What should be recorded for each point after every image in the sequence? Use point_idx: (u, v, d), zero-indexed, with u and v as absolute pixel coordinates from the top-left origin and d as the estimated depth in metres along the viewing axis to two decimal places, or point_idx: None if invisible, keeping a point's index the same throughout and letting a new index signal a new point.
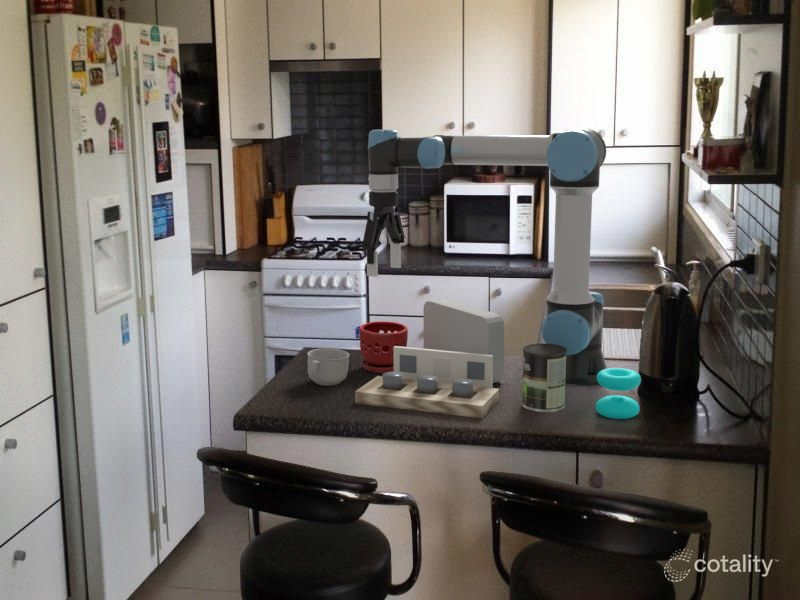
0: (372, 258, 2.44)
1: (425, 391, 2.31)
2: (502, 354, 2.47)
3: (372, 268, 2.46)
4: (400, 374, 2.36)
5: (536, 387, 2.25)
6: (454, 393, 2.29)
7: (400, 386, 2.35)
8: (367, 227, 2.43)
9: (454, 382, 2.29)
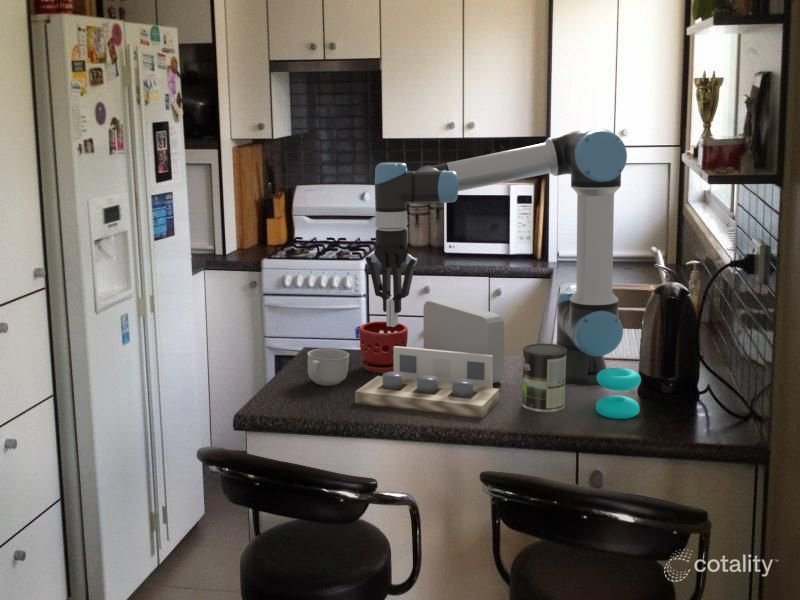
0: (384, 306, 2.33)
1: (425, 391, 2.31)
2: (502, 354, 2.47)
3: None
4: (400, 374, 2.36)
5: (536, 387, 2.25)
6: (454, 393, 2.29)
7: (400, 386, 2.35)
8: None
9: (454, 382, 2.29)
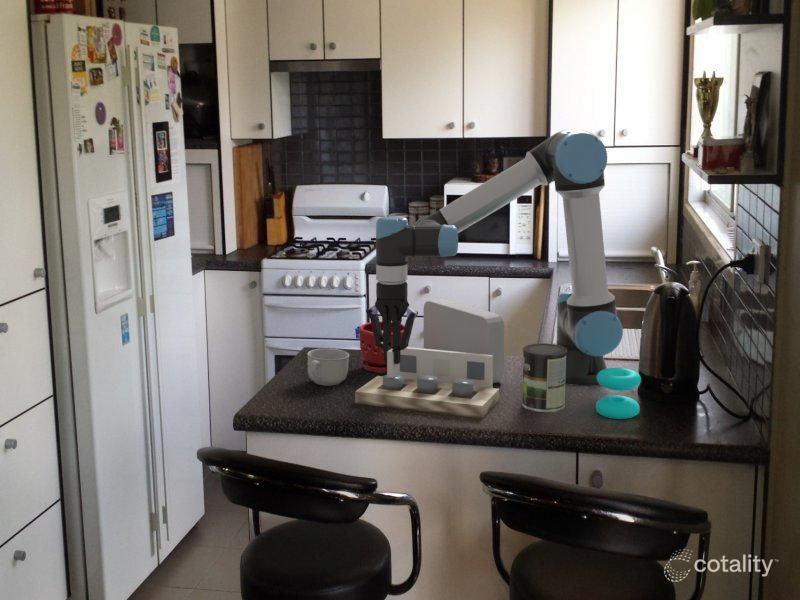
0: (385, 357, 2.35)
1: (425, 391, 2.31)
2: (502, 354, 2.47)
3: None
4: (400, 376, 2.36)
5: (536, 387, 2.25)
6: (454, 393, 2.29)
7: (400, 388, 2.35)
8: None
9: (454, 382, 2.29)
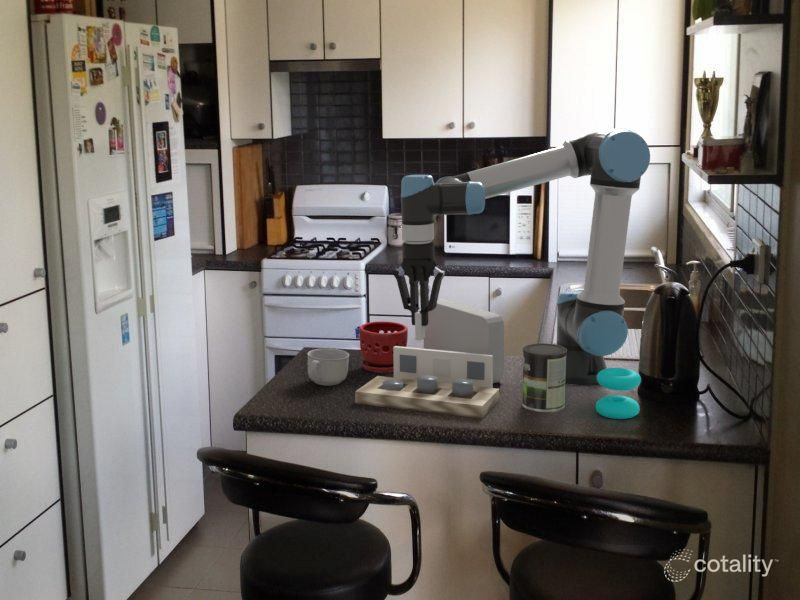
0: (413, 319, 2.31)
1: (425, 391, 2.31)
2: (502, 354, 2.47)
3: None
4: (400, 382, 2.37)
5: (536, 387, 2.25)
6: (454, 393, 2.29)
7: None
8: None
9: (454, 382, 2.29)
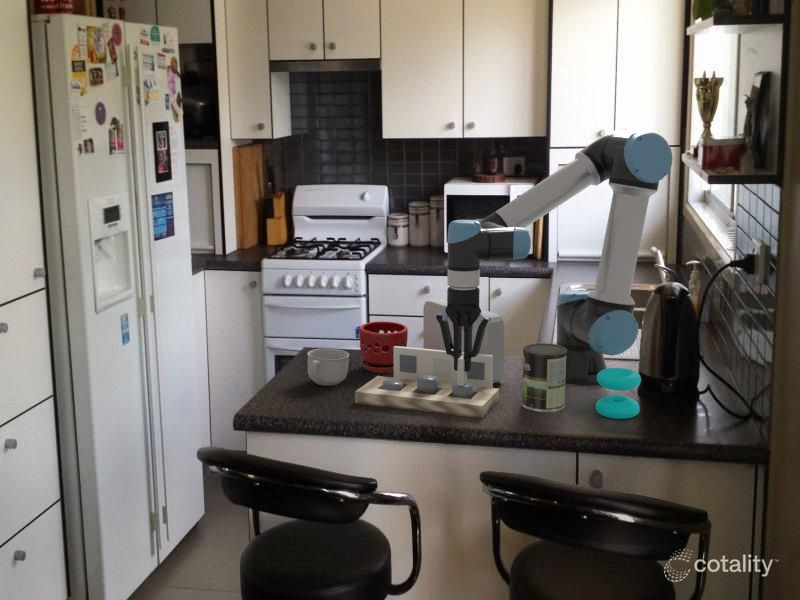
0: (455, 364, 2.29)
1: (425, 391, 2.31)
2: (502, 354, 2.47)
3: None
4: (400, 382, 2.37)
5: (536, 387, 2.25)
6: (454, 396, 2.29)
7: None
8: None
9: (454, 385, 2.29)
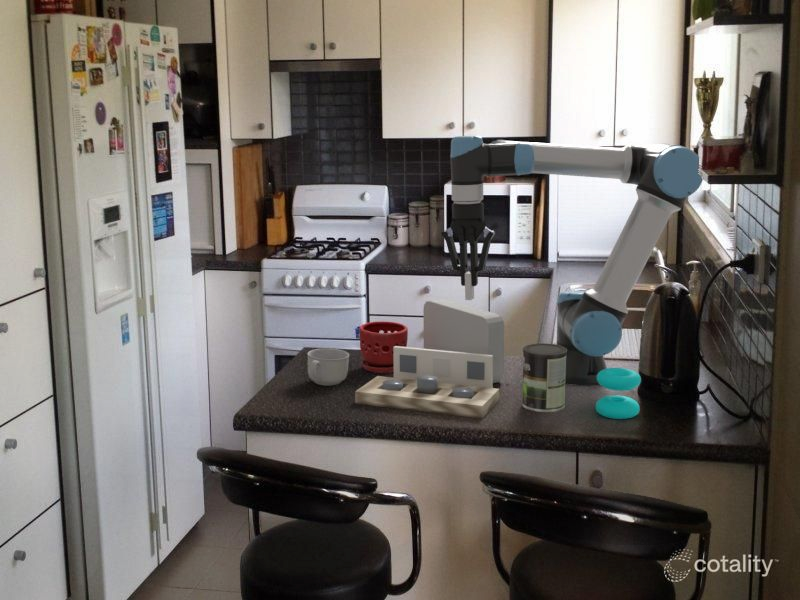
0: (462, 279, 2.33)
1: (425, 391, 2.31)
2: (502, 354, 2.47)
3: None
4: (400, 382, 2.37)
5: (536, 387, 2.25)
6: None
7: None
8: None
9: (454, 390, 2.30)
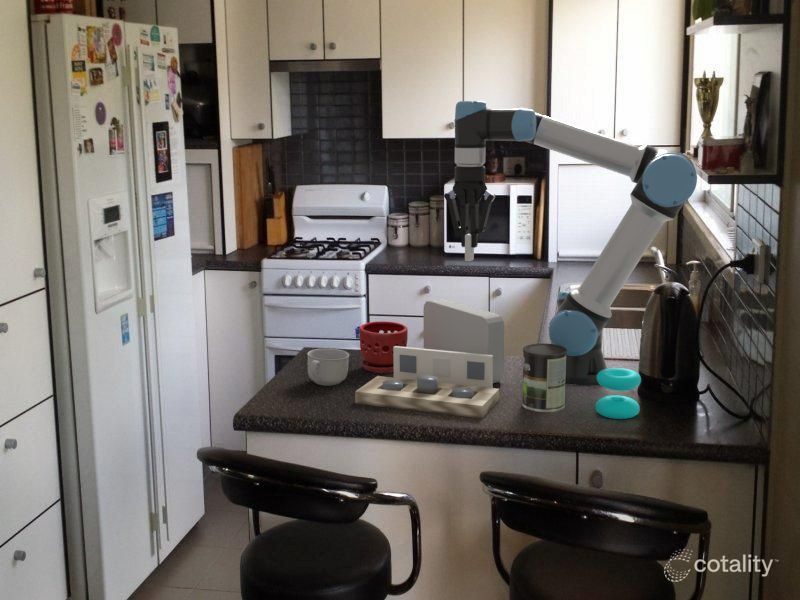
0: (462, 241, 2.40)
1: (425, 391, 2.31)
2: (502, 354, 2.47)
3: None
4: (400, 382, 2.37)
5: (536, 387, 2.25)
6: None
7: None
8: None
9: (454, 390, 2.30)
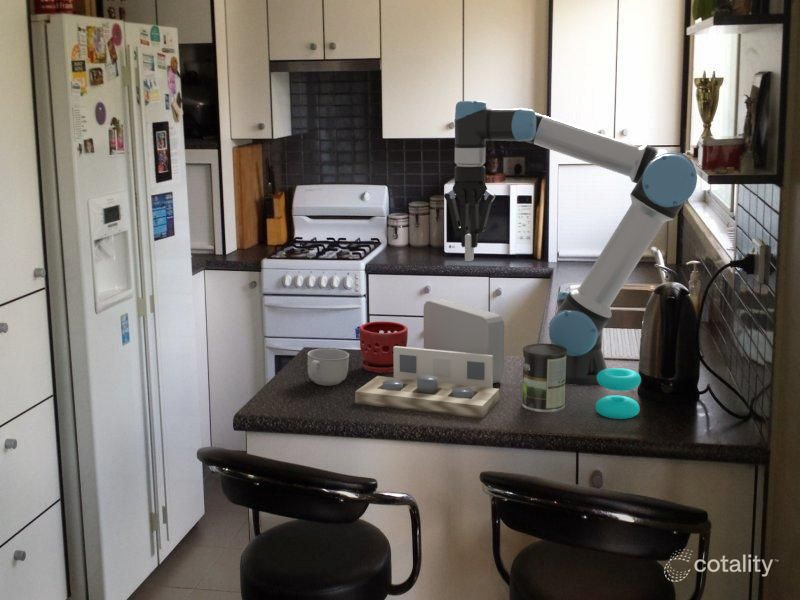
0: (462, 241, 2.40)
1: (425, 391, 2.31)
2: (502, 354, 2.47)
3: None
4: (400, 382, 2.37)
5: (536, 387, 2.25)
6: None
7: None
8: None
9: (454, 390, 2.30)
